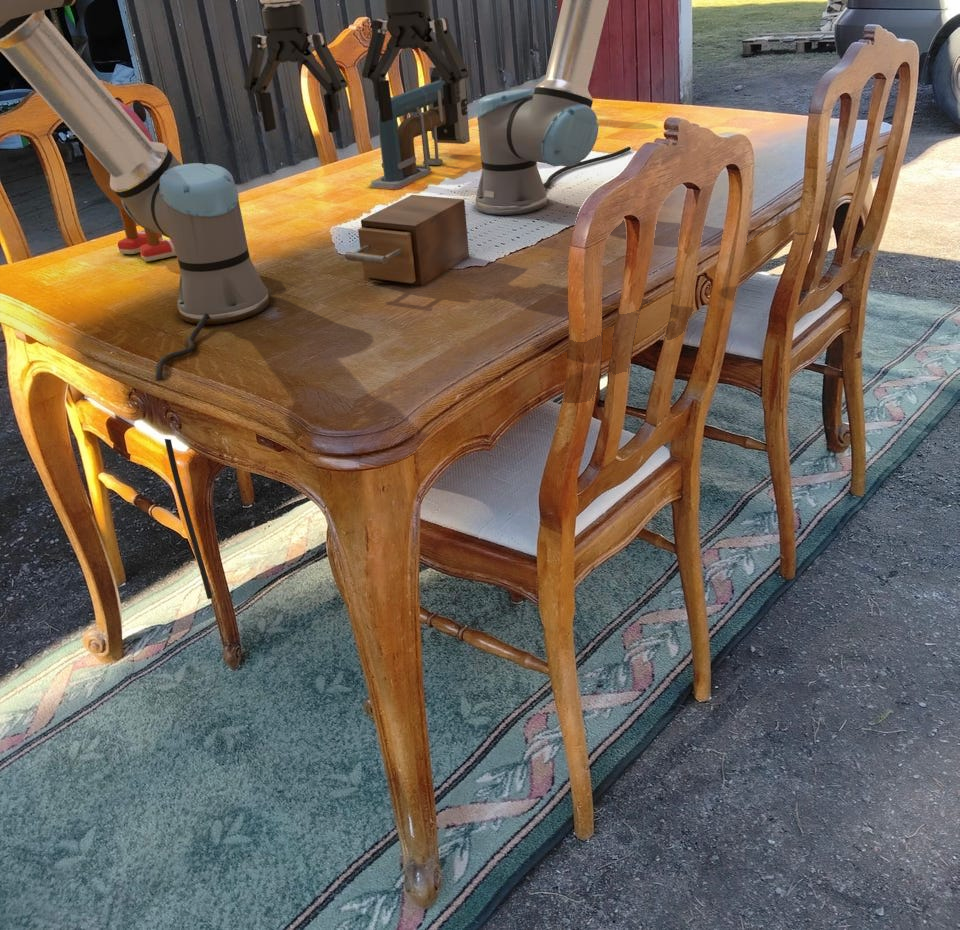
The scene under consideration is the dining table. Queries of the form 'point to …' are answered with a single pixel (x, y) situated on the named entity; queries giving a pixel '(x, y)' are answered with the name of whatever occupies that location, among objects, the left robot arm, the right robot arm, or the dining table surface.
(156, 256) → the toy
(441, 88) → the clamp
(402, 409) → the dining table surface
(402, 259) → the drawer
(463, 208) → the cabinet
